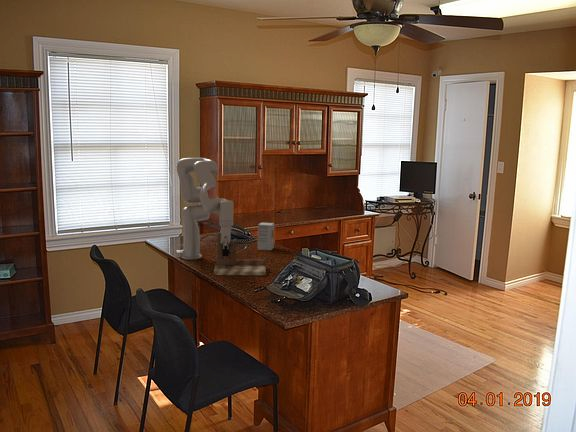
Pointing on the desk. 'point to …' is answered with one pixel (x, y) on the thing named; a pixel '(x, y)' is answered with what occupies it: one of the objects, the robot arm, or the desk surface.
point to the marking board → (242, 268)
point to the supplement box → (265, 236)
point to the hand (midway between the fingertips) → (225, 254)
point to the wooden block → (232, 252)
